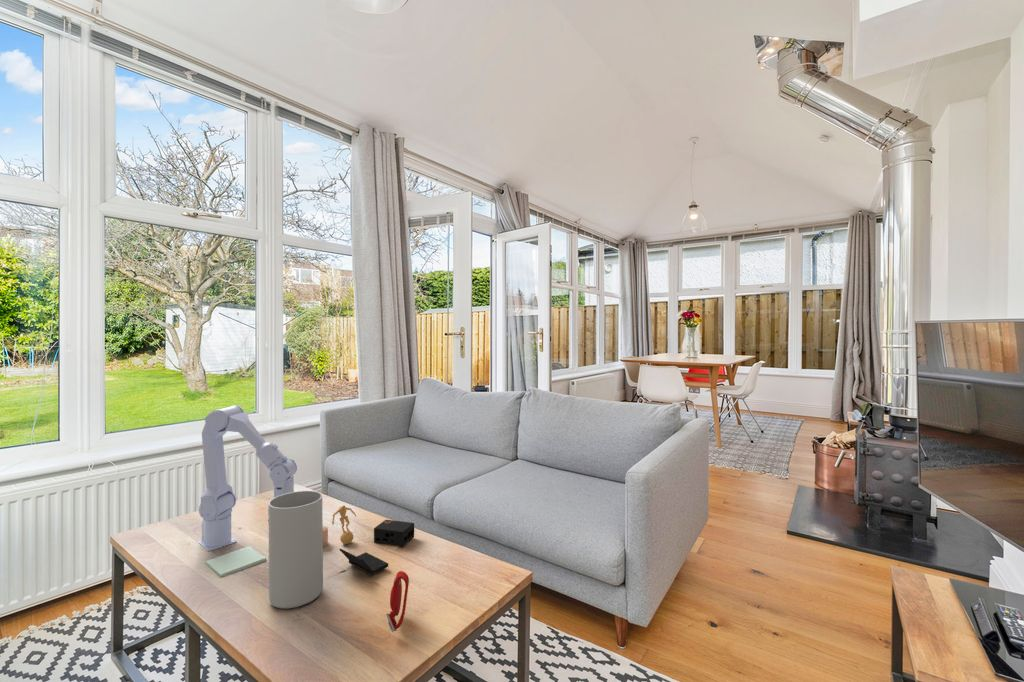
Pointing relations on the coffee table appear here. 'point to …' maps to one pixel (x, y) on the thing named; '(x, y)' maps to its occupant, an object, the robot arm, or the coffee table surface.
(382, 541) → the electronic device
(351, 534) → the figurine
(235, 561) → the sage board
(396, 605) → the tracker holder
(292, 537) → the cylinder vase
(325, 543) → the pink rounded capsule
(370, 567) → the black angular piece
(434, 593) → the coffee table surface
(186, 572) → the coffee table surface
